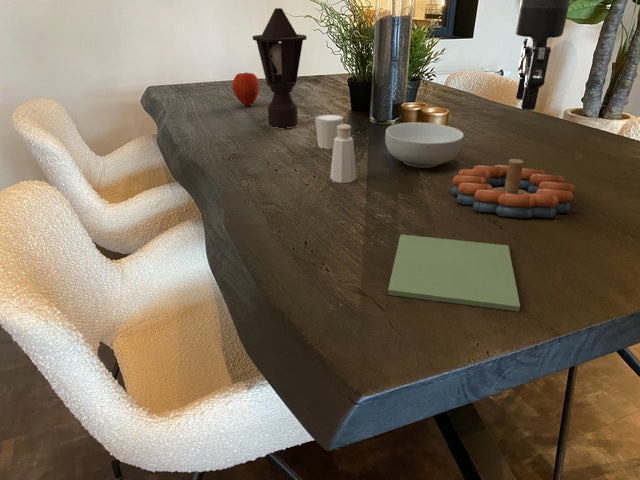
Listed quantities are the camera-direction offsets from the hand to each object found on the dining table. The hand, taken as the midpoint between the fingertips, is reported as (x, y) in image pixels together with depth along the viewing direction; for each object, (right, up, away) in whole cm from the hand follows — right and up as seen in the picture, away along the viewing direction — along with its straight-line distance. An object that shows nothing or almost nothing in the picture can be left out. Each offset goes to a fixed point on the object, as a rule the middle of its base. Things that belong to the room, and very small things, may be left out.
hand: (524, 104), depth 88 cm
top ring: (-2, -15, +1) cm, 16 cm away
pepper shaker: (-32, -12, +12) cm, 37 cm away
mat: (-19, -29, -20) cm, 40 cm away
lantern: (-47, +8, +50) cm, 69 cm away
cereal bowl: (-14, -7, +21) cm, 26 cm away
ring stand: (-2, -17, +2) cm, 17 cm away
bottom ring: (-2, -17, +2) cm, 17 cm away
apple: (-61, +19, +72) cm, 96 cm away
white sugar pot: (-35, -1, +33) cm, 48 cm away
